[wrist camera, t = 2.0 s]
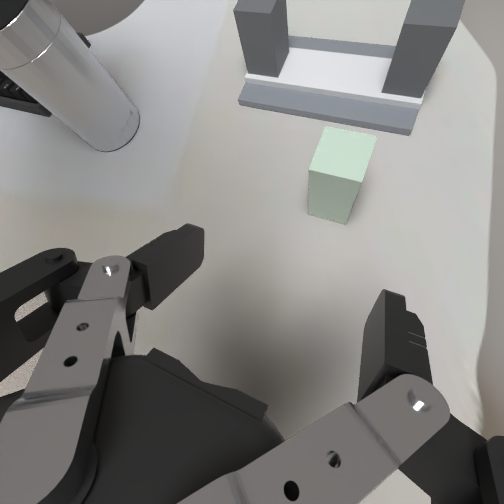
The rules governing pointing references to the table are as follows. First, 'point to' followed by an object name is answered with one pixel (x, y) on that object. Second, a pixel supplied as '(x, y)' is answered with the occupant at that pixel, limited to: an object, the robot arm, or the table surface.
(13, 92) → the computer keyboard
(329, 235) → the table surface
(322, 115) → the rail board
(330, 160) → the block
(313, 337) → the table surface
